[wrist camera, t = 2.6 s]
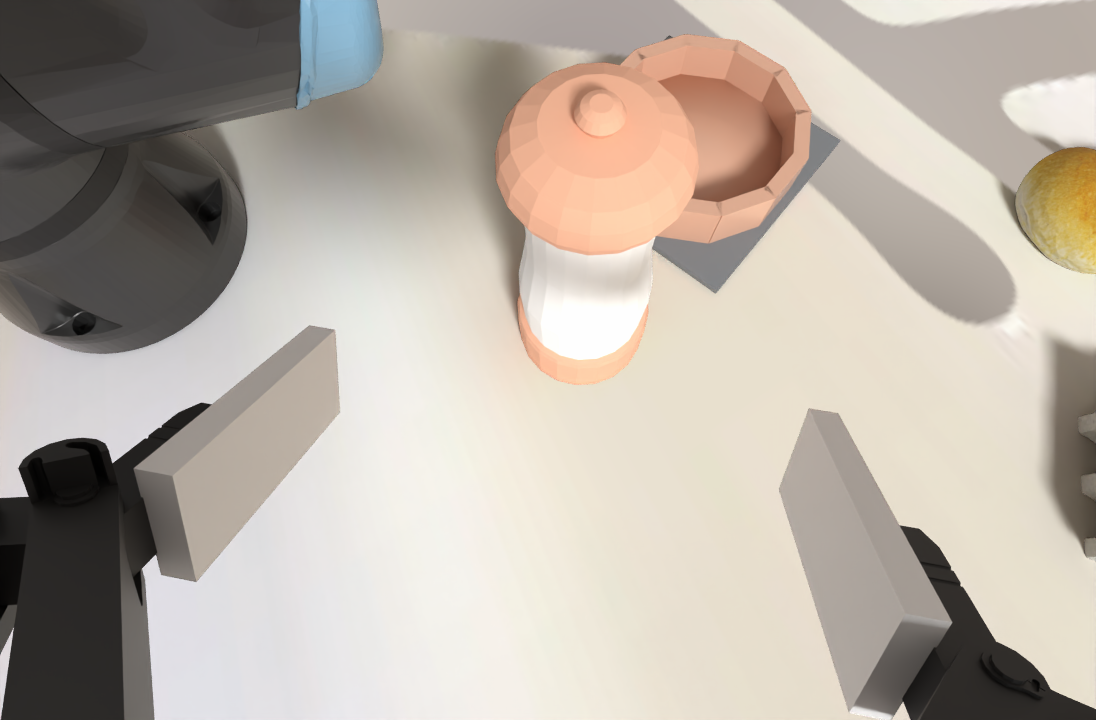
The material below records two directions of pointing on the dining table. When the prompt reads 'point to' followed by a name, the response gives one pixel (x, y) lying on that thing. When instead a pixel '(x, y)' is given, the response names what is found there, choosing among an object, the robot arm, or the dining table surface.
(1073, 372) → the dining table surface
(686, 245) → the mat
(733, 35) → the dining table surface
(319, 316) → the dining table surface
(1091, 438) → the egg carton
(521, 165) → the pepper shaker
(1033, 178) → the bread roll
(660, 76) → the dish
